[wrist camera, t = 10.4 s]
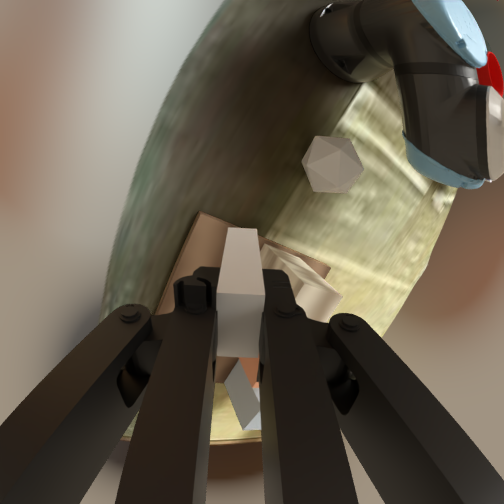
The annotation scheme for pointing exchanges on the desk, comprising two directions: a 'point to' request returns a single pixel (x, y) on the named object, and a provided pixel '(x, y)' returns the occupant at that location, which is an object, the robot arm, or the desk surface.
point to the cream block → (303, 283)
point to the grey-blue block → (244, 398)
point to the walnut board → (210, 255)
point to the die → (332, 164)
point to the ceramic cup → (491, 74)
